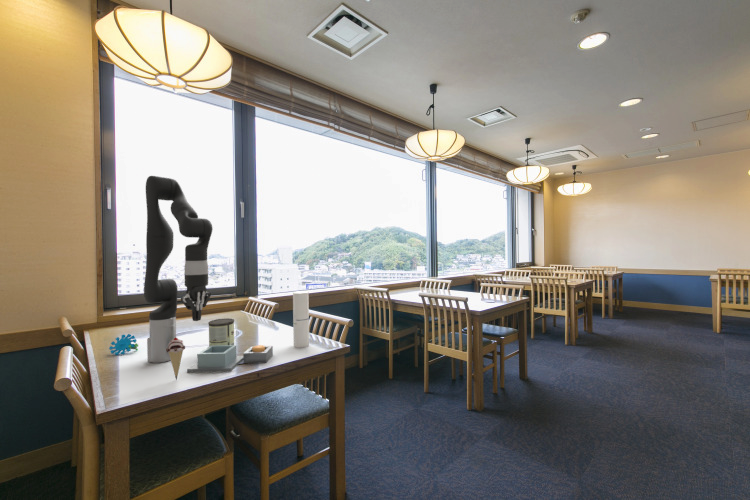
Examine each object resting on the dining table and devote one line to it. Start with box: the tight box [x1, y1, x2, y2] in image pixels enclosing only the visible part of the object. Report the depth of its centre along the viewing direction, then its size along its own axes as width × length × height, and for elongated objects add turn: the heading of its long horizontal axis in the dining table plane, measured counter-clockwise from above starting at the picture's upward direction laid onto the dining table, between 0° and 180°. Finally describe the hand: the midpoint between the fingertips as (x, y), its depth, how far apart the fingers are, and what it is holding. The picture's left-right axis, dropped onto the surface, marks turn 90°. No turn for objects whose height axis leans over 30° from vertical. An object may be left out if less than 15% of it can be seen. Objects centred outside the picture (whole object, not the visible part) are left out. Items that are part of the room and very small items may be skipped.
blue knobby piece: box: [108, 333, 139, 356], centre depth 144 cm, size 11×6×10 cm
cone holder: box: [186, 344, 244, 373], centre depth 127 cm, size 16×14×6 cm
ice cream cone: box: [166, 337, 186, 381], centre depth 112 cm, size 6×6×15 cm
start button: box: [252, 344, 266, 352], centre depth 133 cm, size 5×5×3 cm
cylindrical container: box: [292, 290, 310, 349], centre depth 151 cm, size 7×7×25 cm
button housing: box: [242, 345, 274, 364], centre depth 133 cm, size 9×9×4 cm
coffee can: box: [207, 318, 235, 347], centre depth 141 cm, size 10×10×14 cm
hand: (196, 320), depth 117 cm, fingers closed
